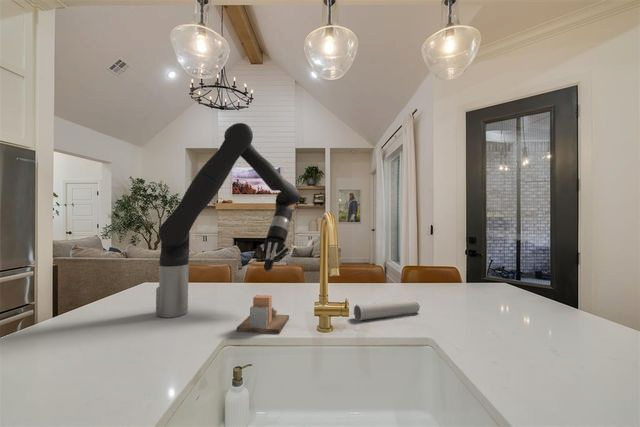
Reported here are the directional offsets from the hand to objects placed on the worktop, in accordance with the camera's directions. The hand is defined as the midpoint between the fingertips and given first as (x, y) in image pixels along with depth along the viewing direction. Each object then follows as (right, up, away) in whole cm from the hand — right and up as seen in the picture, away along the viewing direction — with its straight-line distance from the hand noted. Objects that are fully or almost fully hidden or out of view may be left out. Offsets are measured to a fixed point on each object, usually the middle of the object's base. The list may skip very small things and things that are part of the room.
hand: (267, 270), depth 106 cm
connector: (+1, -13, -18) cm, 23 cm away
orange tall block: (+1, -13, -15) cm, 20 cm away
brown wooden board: (+2, -15, -13) cm, 20 cm away
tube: (+43, -16, -4) cm, 46 cm away
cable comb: (+2, -14, -8) cm, 16 cm away
